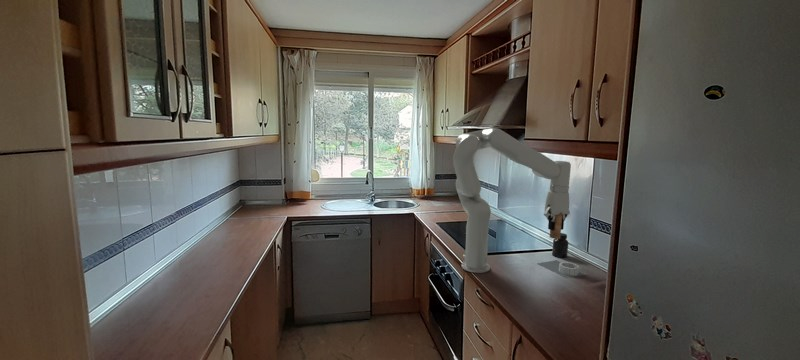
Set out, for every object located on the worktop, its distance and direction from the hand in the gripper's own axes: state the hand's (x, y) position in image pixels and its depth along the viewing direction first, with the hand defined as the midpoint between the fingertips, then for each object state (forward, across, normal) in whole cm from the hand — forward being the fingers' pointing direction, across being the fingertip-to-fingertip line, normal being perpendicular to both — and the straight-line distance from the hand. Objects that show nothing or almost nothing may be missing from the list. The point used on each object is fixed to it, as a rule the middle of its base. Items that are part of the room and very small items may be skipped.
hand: (555, 228), depth 156 cm
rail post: (+4, 0, 0) cm, 4 cm away
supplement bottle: (+18, -13, -8) cm, 23 cm away
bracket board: (+18, 0, +5) cm, 18 cm away
